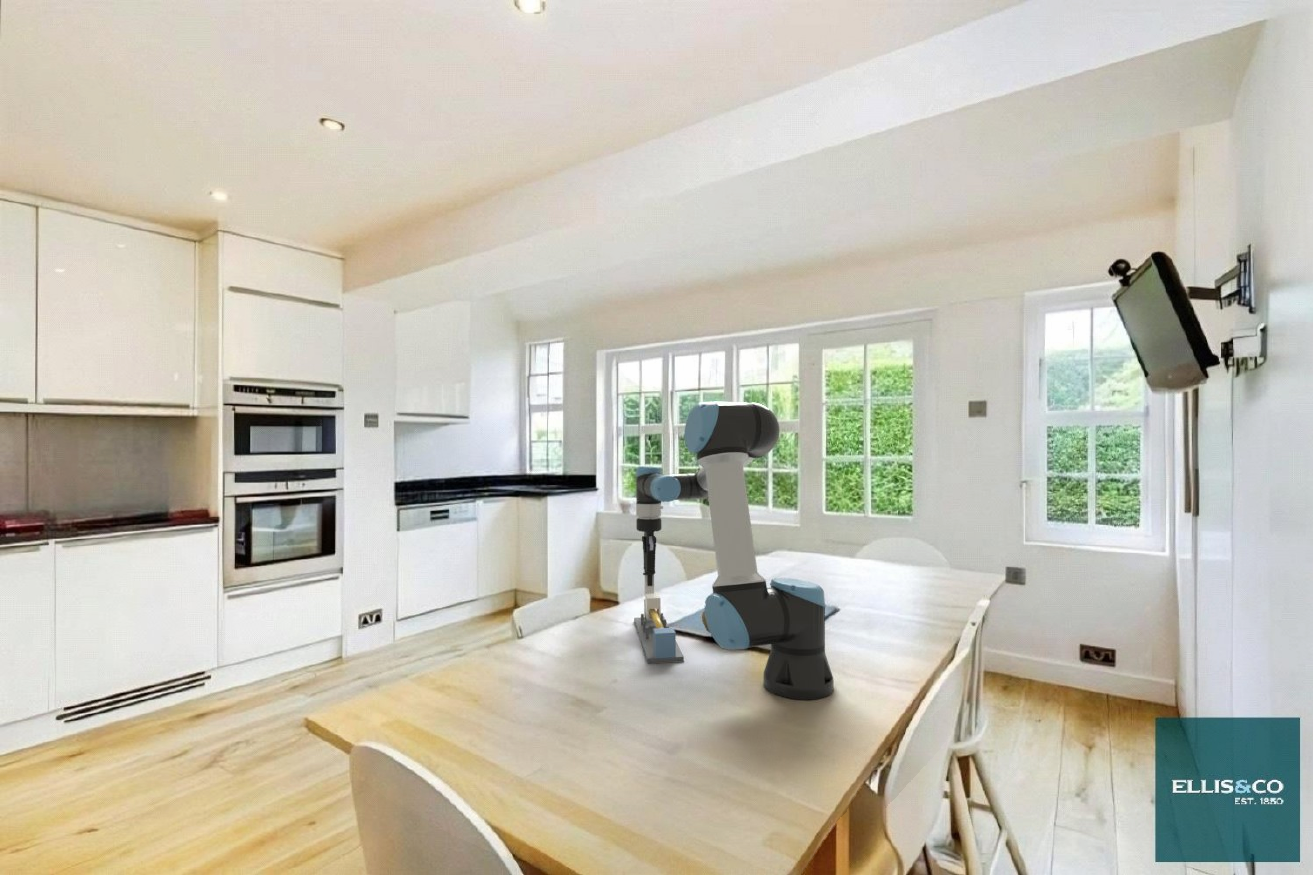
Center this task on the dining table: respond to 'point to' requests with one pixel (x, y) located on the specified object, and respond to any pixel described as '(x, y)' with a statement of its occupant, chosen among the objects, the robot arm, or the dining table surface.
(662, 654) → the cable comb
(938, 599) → the dining table surface
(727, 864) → the dining table surface
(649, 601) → the sleeve
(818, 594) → the robot arm
